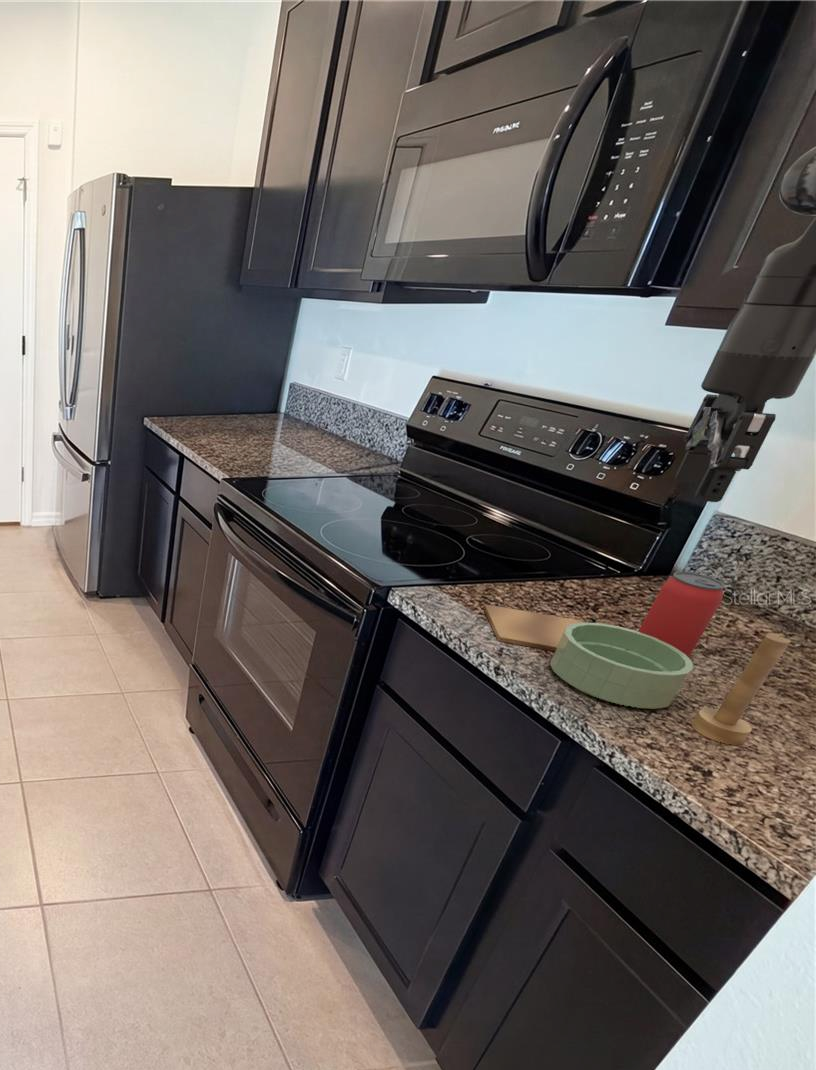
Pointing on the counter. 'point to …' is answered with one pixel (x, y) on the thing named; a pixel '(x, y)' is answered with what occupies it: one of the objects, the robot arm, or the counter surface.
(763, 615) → the counter surface
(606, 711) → the counter surface
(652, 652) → the bowl
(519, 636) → the plate
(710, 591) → the beer can
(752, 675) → the muddler
